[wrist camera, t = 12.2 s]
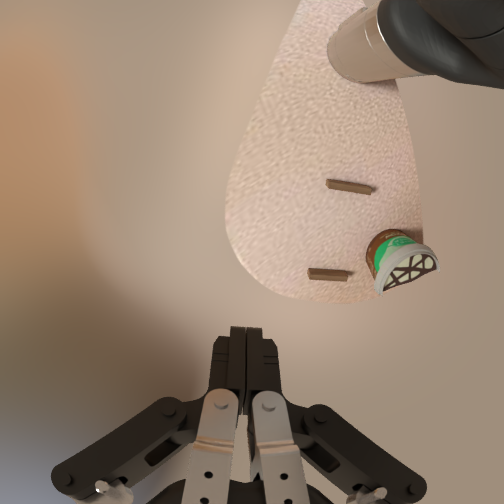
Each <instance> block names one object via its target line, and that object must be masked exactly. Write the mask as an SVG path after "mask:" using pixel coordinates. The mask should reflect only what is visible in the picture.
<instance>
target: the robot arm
mask: <svg viewBox="0 0 504 504" xmlns="http://www.w3.org/2000/svg"><path fill="white" fill-rule="evenodd" d="M327 52H328V57H329V60H330V63H331V64H332V66H333V68H334V69H335V70H336V71H337V72H338V73H339V74H340V75H341V76H342V77H344V78H346V79H347V80H350V81H352V82H356V83H369V82H374V81H381V80H388V79H396V78H403V77H413V76H424V75H438V76H440V77H442V78H445V79H447V80H450V81H453V82H457V83H464V84H472V85H480V86H487V87H493V88H499V89H504V0H379V1H378V2H376V3H375V4H374V5H372V6H371V7H370V8H365V7H363V8H361V9H360V10H358V11H357V12H356V13H354V14H353V15H352V16H351V17H349V18H348V19H347V20H346V21H344V22H343V23H342V24H341V25H340V26H339V30H338V32H336V33H335V34H334V35H333V36H332V37H331V39H330V40H329V43H328V48H327ZM242 407H243V415H248V425H247V437H248V448H249V459H250V482H248V483H242V482H238V481H234V480H230V473H231V465H232V456H233V447H234V438H235V430H236V428H237V423H238V416H239V415H241V413H242ZM193 442H194V444H193V447H192V452H191V457H190V462H189V467H188V472H187V477H186V479H183V480H180V481H177V482H175V483H173V484H171V485H169V486H168V487H166V488H165V489H164V490H163V491H162V492H160V493H159V494H158V495H157V496H155V497H154V498H153V499H151V500H150V501H149V502H148V503H146V504H334V503H332V502H331V501H330V500H329V499H328V498H327V497H325V496H324V495H323V494H322V493H321V492H320V491H319V490H317V489H316V488H314V487H313V486H311V485H308V484H306V480H305V476H304V470H303V465H302V460H301V457H303V458H304V459H305V460H306V461H307V462H308V463H309V464H311V465H312V466H313V467H314V468H315V469H316V470H317V471H319V472H320V473H321V474H322V475H323V476H325V477H326V478H327V479H328V480H329V481H331V482H332V483H333V484H334V485H335V486H337V487H338V488H339V489H341V490H342V491H343V492H344V493H346V494H347V495H348V498H347V501H346V504H413V503H416V502H418V501H419V500H421V499H422V498H423V497H424V495H425V493H426V490H427V484H426V481H425V480H424V478H422V477H421V476H420V475H418V474H417V473H415V472H414V471H412V470H411V469H410V468H408V467H407V466H405V465H404V464H402V463H401V462H399V461H398V460H397V459H395V458H394V457H393V456H391V455H390V454H388V453H387V452H386V451H384V450H383V449H382V448H380V447H379V446H378V445H376V444H375V443H374V442H372V441H371V440H370V439H369V438H367V437H366V436H365V435H363V434H362V433H361V432H359V431H358V430H357V429H356V428H354V427H353V426H352V425H351V424H349V423H348V422H347V421H346V420H344V419H343V418H342V417H341V416H340V415H338V414H337V413H336V412H334V411H333V410H332V409H331V408H330V407H328V406H325V405H322V404H316V405H313V406H311V407H309V408H305V407H301V406H297V405H294V404H292V403H290V402H289V401H288V400H286V399H285V397H284V396H283V394H282V390H281V380H280V370H279V360H278V351H277V346H276V345H275V343H274V341H273V340H272V339H263V337H262V328H253V327H247V328H245V327H236V326H231V329H230V337H226V336H219V337H218V338H217V339H216V341H215V342H214V345H213V353H212V361H211V369H210V379H209V387H208V390H207V392H206V394H205V395H204V396H203V397H201V398H199V399H197V400H193V401H188V402H181V401H180V400H178V399H176V398H173V397H164V398H161V399H159V400H157V401H156V402H154V403H153V404H152V405H150V406H149V407H147V408H146V409H145V410H143V411H142V412H140V413H139V414H137V415H136V416H134V417H133V418H132V419H130V420H129V421H127V422H126V423H124V424H123V425H121V426H120V427H118V428H117V429H115V430H114V431H112V432H110V433H109V434H108V435H106V436H105V437H103V438H101V439H100V440H98V441H96V442H95V443H93V444H92V445H90V446H88V447H87V448H85V449H84V450H82V451H80V452H79V453H77V454H76V455H74V456H72V457H70V458H69V459H67V460H65V461H64V462H62V463H60V464H58V465H57V466H55V467H54V468H53V470H52V473H51V480H52V483H53V485H54V486H55V488H56V489H57V490H58V491H59V492H61V493H63V494H65V495H67V496H69V497H70V498H72V499H73V500H74V501H75V502H76V504H131V503H132V502H133V493H132V491H131V490H130V488H131V487H132V486H134V485H135V484H136V483H138V482H139V481H141V480H142V479H143V478H145V477H146V476H148V475H149V474H150V473H152V472H153V471H154V470H156V469H157V468H159V467H160V466H161V465H163V464H164V463H165V462H166V461H168V460H169V459H170V458H171V457H173V456H174V455H175V454H177V453H178V452H179V451H180V450H182V449H183V448H184V447H185V446H187V445H188V444H189V443H193Z"/></svg>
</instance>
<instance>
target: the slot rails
mask: <svg viewBox="0 0 504 504" xmlns="http://www.w3.org/2000/svg"><path fill="white" fill-rule="evenodd" d="M326 186H327V187H328V188H329V189H335V190H341V191H348V192H354V193H360V194H366V195H371V191H372V189H371V188H370V187H368V186H366V185H361V184H355V183H349V182H343V181H337V180H331V179H327V180H326ZM307 274H308V277H309V279H310V280H328V281H346V282H347V279H348V276H347V274H346V272H345V271H342V270H327V269H312V268H308V272H307Z"/></svg>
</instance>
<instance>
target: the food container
mask: <svg viewBox="0 0 504 504" xmlns="http://www.w3.org/2000/svg"><path fill="white" fill-rule="evenodd" d="M366 262H367V264H368V267H369V269H370V271H371V273H372V276H373V278H374V280H375V284H374V290H375V291H376V292H377V293H378V294H381V296H382V292H383V291H386V290H388V289H390V288H392V287H395V286H398V285H402V284H405V283H409V282H412V281H413V280H415V279H417V278H419V277H420V276H422V275H424V274H426V273H428V272H431V271H433V270H438V271H439V272H440V266H439V262H438V260H437V258H436V256H435V254H434V252H433V251H432V250H431V249H430V248H429V247H428V246H426V245H423V244H418V243H416V242H415V241H414V240H412V239H411V238H410V237H408V236H407V235H406V234H404V233H403V232H402V231H400V230H396V229H388V230H385V231H382V232H381V233H379V234H378V235H377V236H375V237H374V239H373V240H372V241H371V242H370V244H369V246H368V249H367V252H366Z"/></svg>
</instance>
